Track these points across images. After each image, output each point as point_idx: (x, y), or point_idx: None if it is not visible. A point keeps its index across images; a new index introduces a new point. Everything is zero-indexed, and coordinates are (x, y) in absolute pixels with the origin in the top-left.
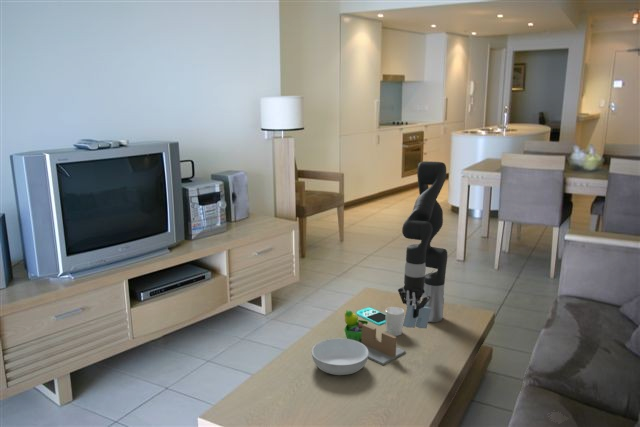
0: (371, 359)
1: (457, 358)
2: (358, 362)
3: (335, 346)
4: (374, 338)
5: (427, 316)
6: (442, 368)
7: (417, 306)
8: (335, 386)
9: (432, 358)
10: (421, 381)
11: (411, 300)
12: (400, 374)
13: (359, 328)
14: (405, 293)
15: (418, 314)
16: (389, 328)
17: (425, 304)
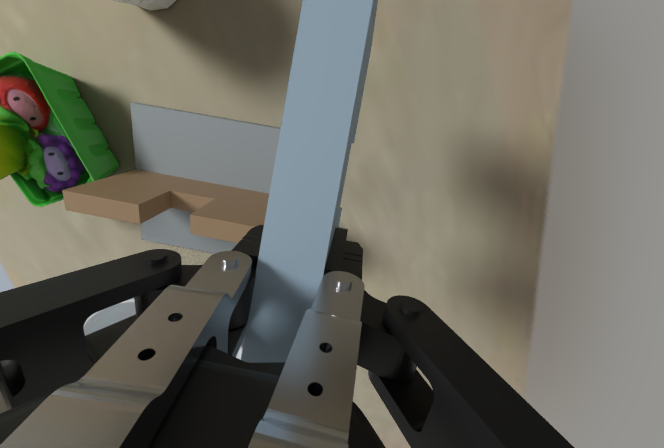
0: None
1: (532, 19)
2: None
3: (117, 309)
4: (170, 199)
5: (372, 22)
6: (486, 159)
7: (358, 358)
8: None
9: (421, 103)
10: (441, 284)
11: (227, 340)
12: (363, 282)
13: (50, 128)
14: (23, 339)
15: (361, 255)
16: (128, 2)
17: (469, 354)
